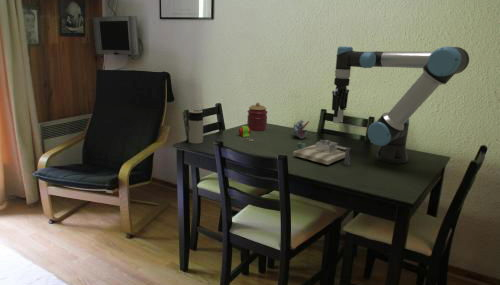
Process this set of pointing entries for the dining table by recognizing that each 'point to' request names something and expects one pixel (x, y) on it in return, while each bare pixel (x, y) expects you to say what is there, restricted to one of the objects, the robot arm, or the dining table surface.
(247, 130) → the toy measuring tape
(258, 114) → the canister
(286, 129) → the dining table surface
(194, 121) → the travel mug
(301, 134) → the toy figurine
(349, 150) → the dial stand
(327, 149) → the cover
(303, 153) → the patterned tray
